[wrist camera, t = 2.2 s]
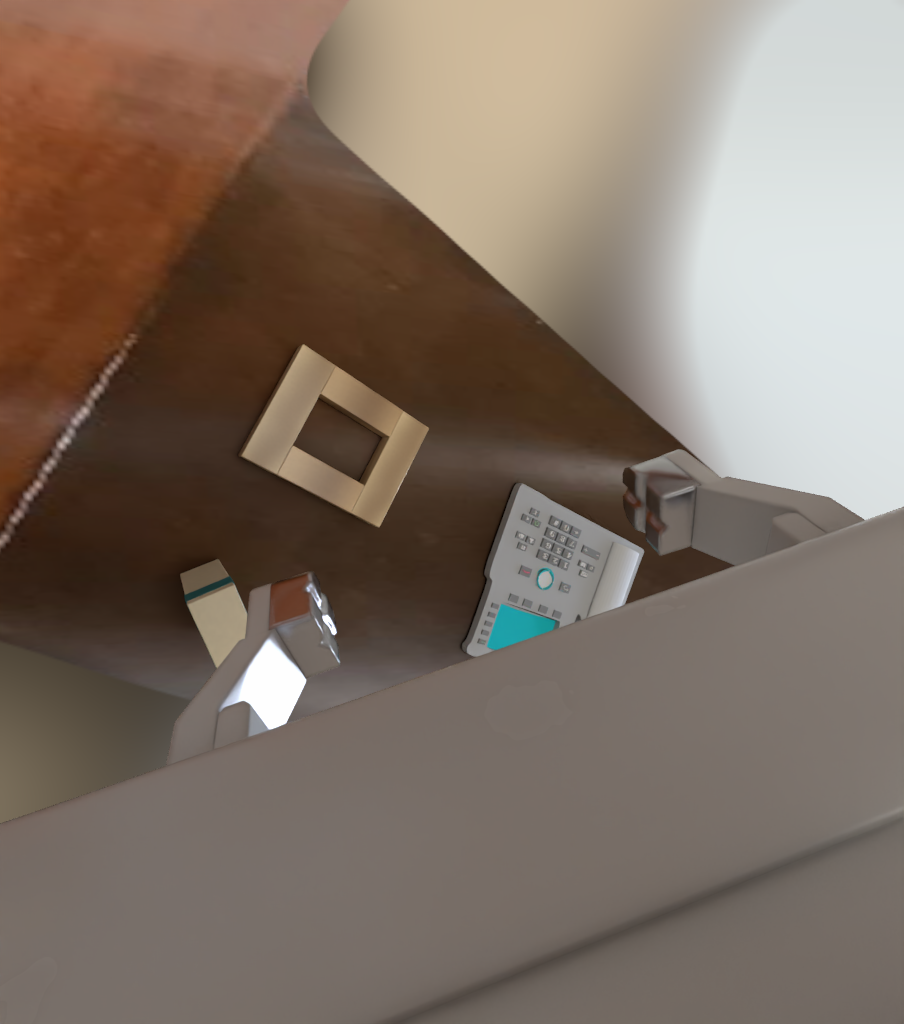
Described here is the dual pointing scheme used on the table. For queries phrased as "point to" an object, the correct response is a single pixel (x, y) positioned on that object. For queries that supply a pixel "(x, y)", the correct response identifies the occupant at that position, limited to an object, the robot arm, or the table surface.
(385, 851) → the robot arm
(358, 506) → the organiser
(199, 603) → the box
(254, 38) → the table surface
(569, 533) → the office telephone
